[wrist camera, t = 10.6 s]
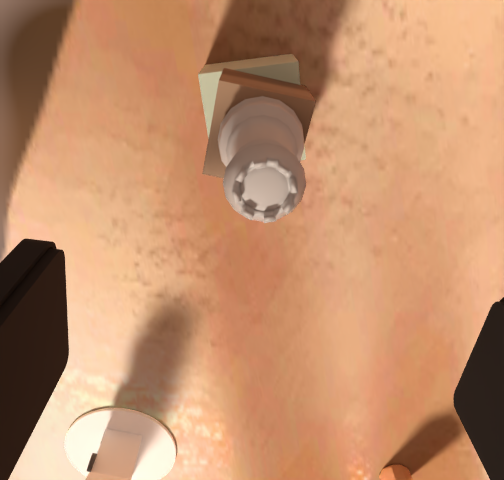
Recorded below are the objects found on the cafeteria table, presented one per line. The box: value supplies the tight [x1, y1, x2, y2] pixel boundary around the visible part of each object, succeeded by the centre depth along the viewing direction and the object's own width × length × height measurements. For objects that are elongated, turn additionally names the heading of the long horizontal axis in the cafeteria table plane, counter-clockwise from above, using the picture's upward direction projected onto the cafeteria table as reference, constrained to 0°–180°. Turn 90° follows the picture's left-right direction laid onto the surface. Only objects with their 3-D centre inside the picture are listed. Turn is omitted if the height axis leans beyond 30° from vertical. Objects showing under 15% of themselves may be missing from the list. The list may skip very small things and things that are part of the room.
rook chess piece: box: [218, 96, 306, 223], centre depth 22 cm, size 4×4×8 cm
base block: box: [198, 54, 306, 160], centre depth 32 cm, size 6×6×5 cm
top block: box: [203, 68, 316, 178], centre depth 27 cm, size 5×5×5 cm
